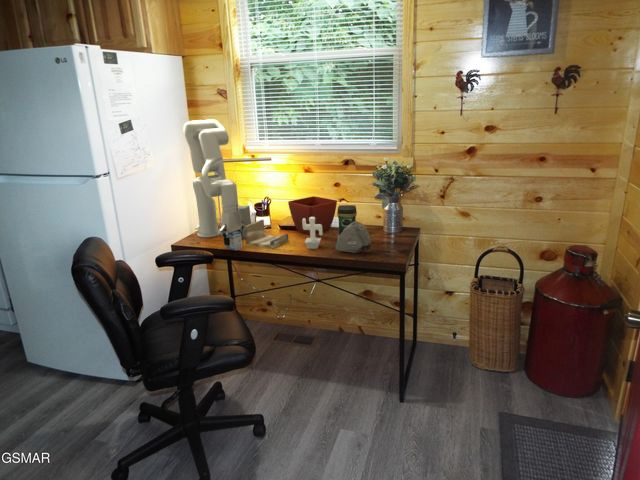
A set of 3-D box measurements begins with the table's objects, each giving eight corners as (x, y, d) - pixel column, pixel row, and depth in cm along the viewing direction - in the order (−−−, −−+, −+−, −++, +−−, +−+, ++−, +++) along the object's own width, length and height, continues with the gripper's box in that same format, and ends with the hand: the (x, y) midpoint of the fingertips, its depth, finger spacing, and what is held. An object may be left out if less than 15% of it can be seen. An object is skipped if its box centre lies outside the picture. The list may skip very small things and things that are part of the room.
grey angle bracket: (246, 244, 233) (244, 226, 230) (263, 237, 245) (261, 219, 242) (273, 248, 225) (271, 229, 222) (288, 240, 237) (288, 222, 234)
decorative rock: (372, 251, 217) (372, 220, 213) (369, 255, 211) (369, 224, 207) (338, 249, 222) (337, 218, 217) (334, 253, 216) (333, 222, 211)
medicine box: (225, 247, 229) (224, 230, 227) (233, 245, 233) (231, 228, 230) (235, 250, 224) (233, 233, 222) (242, 248, 227) (241, 231, 225)
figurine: (322, 249, 221) (321, 219, 217) (302, 249, 223) (301, 219, 218) (323, 245, 228) (322, 215, 224) (304, 245, 229) (303, 215, 225)
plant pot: (314, 224, 265) (313, 195, 260) (338, 230, 251) (337, 200, 246) (288, 231, 253) (287, 201, 248) (312, 238, 239) (310, 206, 234)
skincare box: (247, 238, 244) (245, 208, 239) (234, 237, 245) (232, 208, 240) (253, 233, 252) (250, 204, 247) (240, 233, 253) (238, 204, 248)
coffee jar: (358, 239, 235) (357, 203, 230) (356, 244, 228) (356, 207, 222) (339, 239, 237) (338, 203, 232) (336, 243, 230) (335, 207, 224)
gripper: (236, 203, 231) (239, 236, 236) (212, 211, 217) (215, 246, 222) (248, 204, 228) (250, 238, 233) (224, 212, 213) (227, 248, 218)
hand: (233, 242), depth 227 cm, fingers open, 9 cm apart
